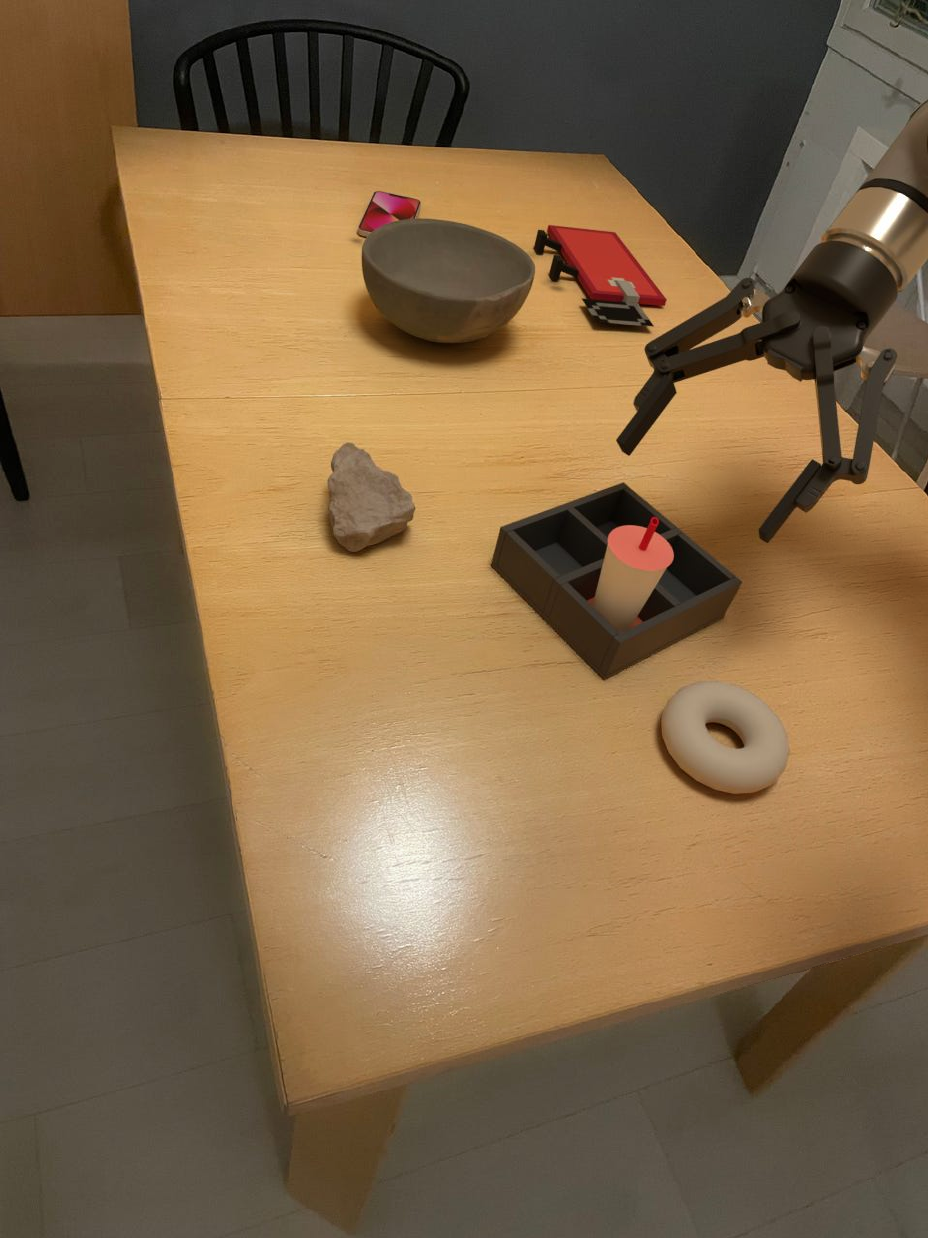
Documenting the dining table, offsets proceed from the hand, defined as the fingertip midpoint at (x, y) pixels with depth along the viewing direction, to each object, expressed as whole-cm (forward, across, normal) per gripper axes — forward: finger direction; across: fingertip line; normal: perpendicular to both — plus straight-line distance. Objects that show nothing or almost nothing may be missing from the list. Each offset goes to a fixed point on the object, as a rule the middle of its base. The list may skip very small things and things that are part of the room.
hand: (689, 491), depth 70 cm
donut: (+15, -13, -4) cm, 21 cm away
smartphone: (-17, +71, -35) cm, 81 cm away
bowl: (-5, +45, -23) cm, 51 cm away
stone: (+18, +23, -1) cm, 30 cm away
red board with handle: (-27, +43, -46) cm, 69 cm away
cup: (+12, 0, -5) cm, 13 cm away
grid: (+10, +3, -9) cm, 13 cm away
